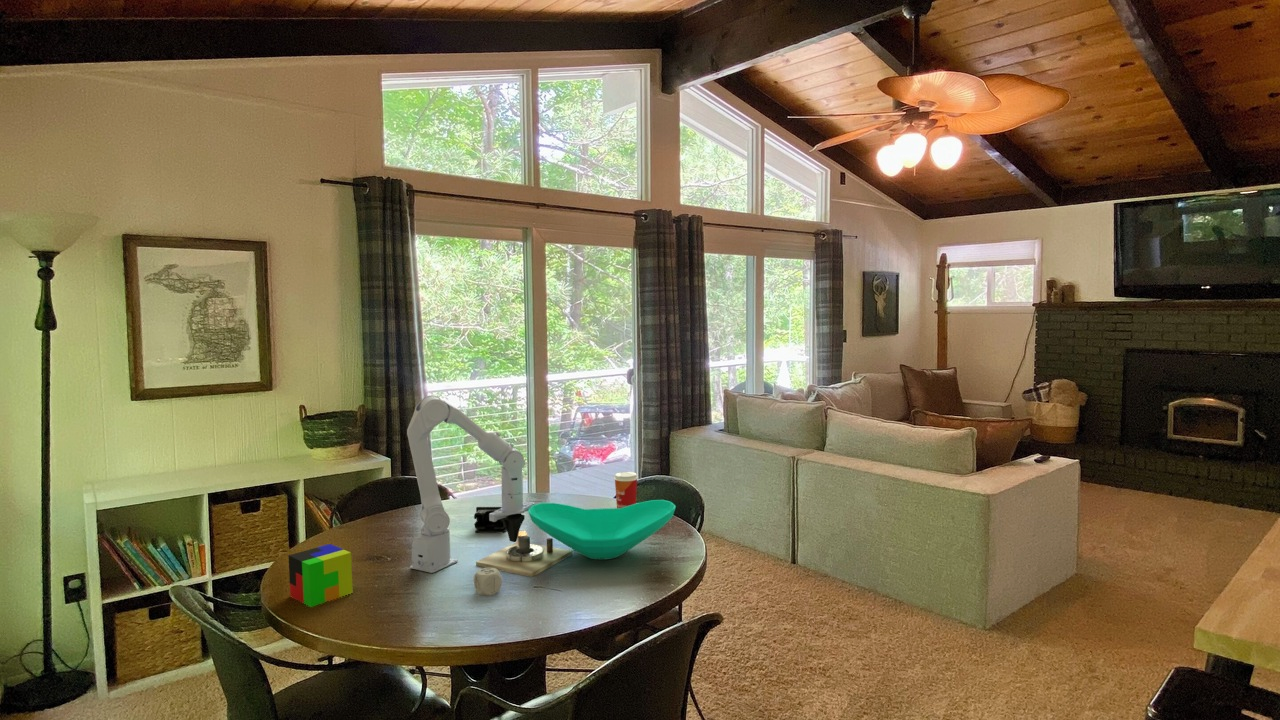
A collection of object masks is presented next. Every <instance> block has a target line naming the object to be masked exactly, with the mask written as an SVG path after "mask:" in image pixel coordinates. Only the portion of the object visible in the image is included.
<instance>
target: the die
mask: <svg viewBox="0 0 1280 720" xmlns="http://www.w3.org/2000/svg"><path fill="white" fill-rule="evenodd" d="M502 583H503V581H502V575H501V573H500V570H497V569H496V568H486V567H482V568H480V569H478V570H477V571H476V572H475V574H474V576H473V586H474V587H473V588H474V589H475V592H476V594H478V595H480V596H484V597H485V596H486V597H489V596H494V595H496V594H497V593H499V591H500V590H501V588H502Z"/></svg>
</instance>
